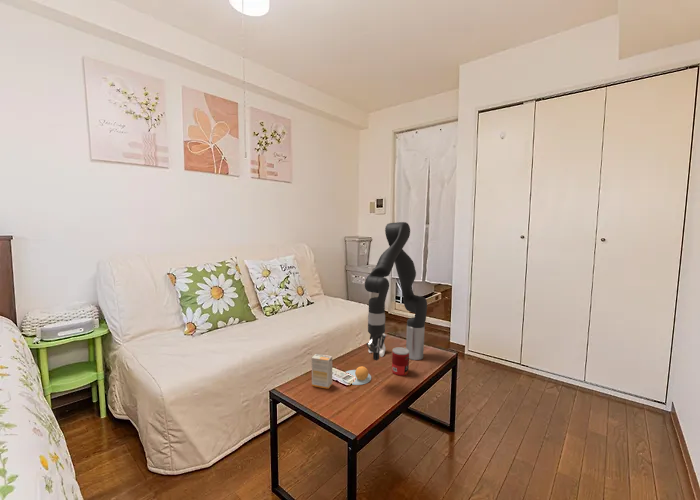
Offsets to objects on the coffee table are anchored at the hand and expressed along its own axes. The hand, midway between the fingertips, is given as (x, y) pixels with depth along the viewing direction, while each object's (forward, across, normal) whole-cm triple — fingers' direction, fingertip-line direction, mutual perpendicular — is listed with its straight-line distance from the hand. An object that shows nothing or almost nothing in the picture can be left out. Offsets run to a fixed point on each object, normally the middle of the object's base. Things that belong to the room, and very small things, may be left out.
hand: (376, 359), depth 144 cm
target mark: (+11, 0, -10) cm, 15 cm away
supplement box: (+11, +15, -18) cm, 26 cm away
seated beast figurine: (+12, -31, -16) cm, 37 cm away
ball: (+8, 0, -7) cm, 11 cm away
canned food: (+12, -16, +4) cm, 21 cm away
